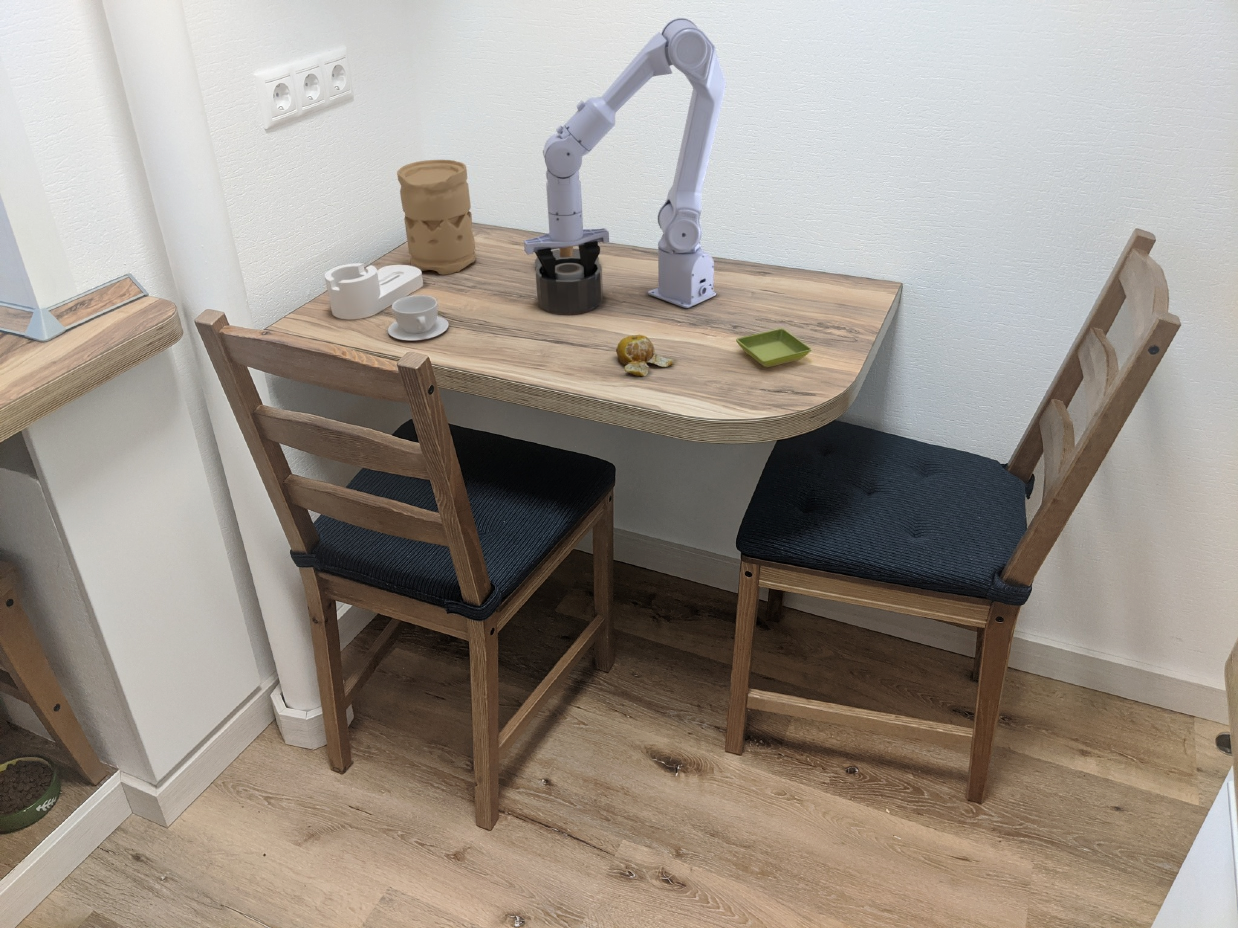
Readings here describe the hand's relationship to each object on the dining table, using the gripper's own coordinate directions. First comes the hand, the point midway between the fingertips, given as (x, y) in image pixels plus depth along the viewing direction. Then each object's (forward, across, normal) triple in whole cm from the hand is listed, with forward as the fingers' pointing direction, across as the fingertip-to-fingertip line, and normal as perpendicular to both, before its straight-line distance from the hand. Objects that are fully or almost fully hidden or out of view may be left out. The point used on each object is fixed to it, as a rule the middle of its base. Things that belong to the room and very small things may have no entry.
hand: (569, 287), depth 166 cm
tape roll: (+1, 0, 0) cm, 1 cm away
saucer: (+3, -22, +33) cm, 40 cm away
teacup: (+3, +27, +1) cm, 27 cm away
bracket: (+3, +31, -16) cm, 35 cm away
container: (+3, +17, -28) cm, 32 cm away
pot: (+3, 0, 0) cm, 3 cm away
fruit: (+3, -2, +27) cm, 28 cm away
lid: (+2, -5, -16) cm, 17 cm away
